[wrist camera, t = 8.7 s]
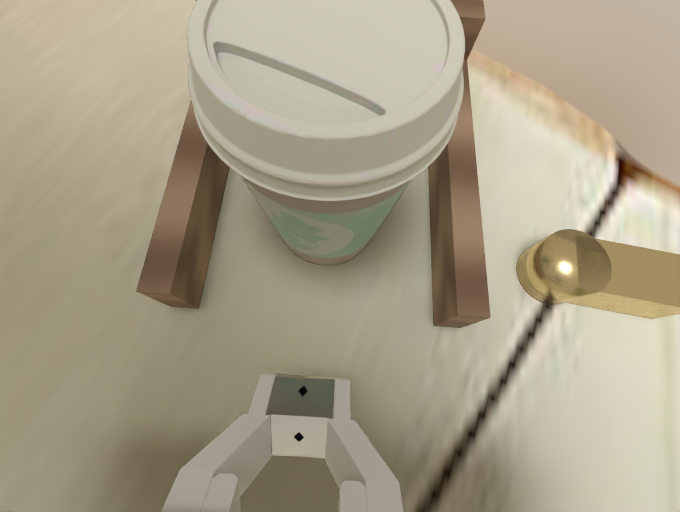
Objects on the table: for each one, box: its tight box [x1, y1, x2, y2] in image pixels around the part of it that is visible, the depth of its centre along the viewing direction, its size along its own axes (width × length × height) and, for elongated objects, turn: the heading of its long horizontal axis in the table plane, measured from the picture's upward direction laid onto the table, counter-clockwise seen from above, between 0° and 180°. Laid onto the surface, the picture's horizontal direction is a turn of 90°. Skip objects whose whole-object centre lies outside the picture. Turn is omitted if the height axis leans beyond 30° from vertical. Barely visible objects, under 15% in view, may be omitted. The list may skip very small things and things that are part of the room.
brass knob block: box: [517, 229, 680, 319], centre depth 18 cm, size 8×4×2 cm, turn 79°
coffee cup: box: [187, 0, 465, 265], centre depth 14 cm, size 8×8×12 cm
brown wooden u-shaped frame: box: [136, 0, 490, 328], centre depth 17 cm, size 18×16×9 cm
